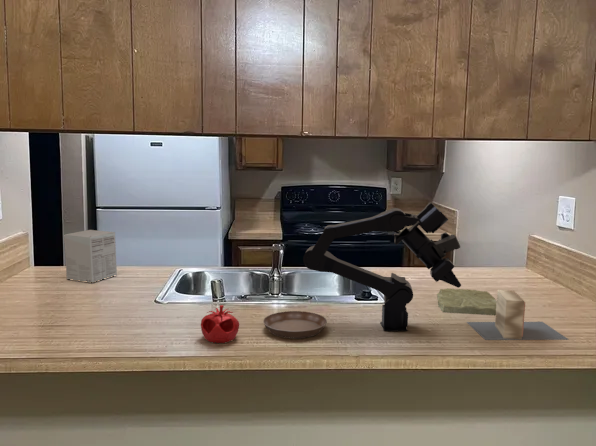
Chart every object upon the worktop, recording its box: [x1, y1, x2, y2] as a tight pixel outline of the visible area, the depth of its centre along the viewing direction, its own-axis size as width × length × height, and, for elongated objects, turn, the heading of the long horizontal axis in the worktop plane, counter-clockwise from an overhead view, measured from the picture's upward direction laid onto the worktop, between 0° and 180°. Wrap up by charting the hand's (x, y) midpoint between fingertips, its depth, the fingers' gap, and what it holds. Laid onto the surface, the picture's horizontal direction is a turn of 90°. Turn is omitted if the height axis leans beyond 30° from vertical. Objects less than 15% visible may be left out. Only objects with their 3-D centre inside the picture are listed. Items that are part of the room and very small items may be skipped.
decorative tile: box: [436, 288, 497, 316], centre depth 167 cm, size 19×20×4 cm
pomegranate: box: [200, 304, 240, 344], centre depth 136 cm, size 10×10×9 cm
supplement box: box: [63, 229, 118, 282], centre depth 197 cm, size 13×13×18 cm
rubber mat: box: [466, 321, 570, 341], centre depth 144 cm, size 22×14×1 cm, turn 92°
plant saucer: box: [262, 310, 327, 339], centre depth 145 cm, size 18×18×3 cm
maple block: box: [494, 289, 526, 339], centre depth 142 cm, size 5×10×10 cm, turn 172°
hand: (459, 285), depth 142 cm, fingers closed
